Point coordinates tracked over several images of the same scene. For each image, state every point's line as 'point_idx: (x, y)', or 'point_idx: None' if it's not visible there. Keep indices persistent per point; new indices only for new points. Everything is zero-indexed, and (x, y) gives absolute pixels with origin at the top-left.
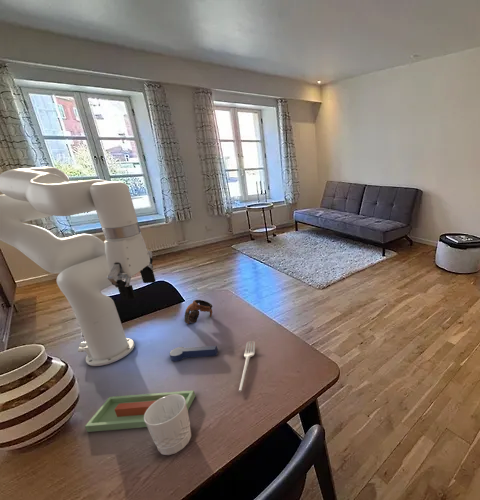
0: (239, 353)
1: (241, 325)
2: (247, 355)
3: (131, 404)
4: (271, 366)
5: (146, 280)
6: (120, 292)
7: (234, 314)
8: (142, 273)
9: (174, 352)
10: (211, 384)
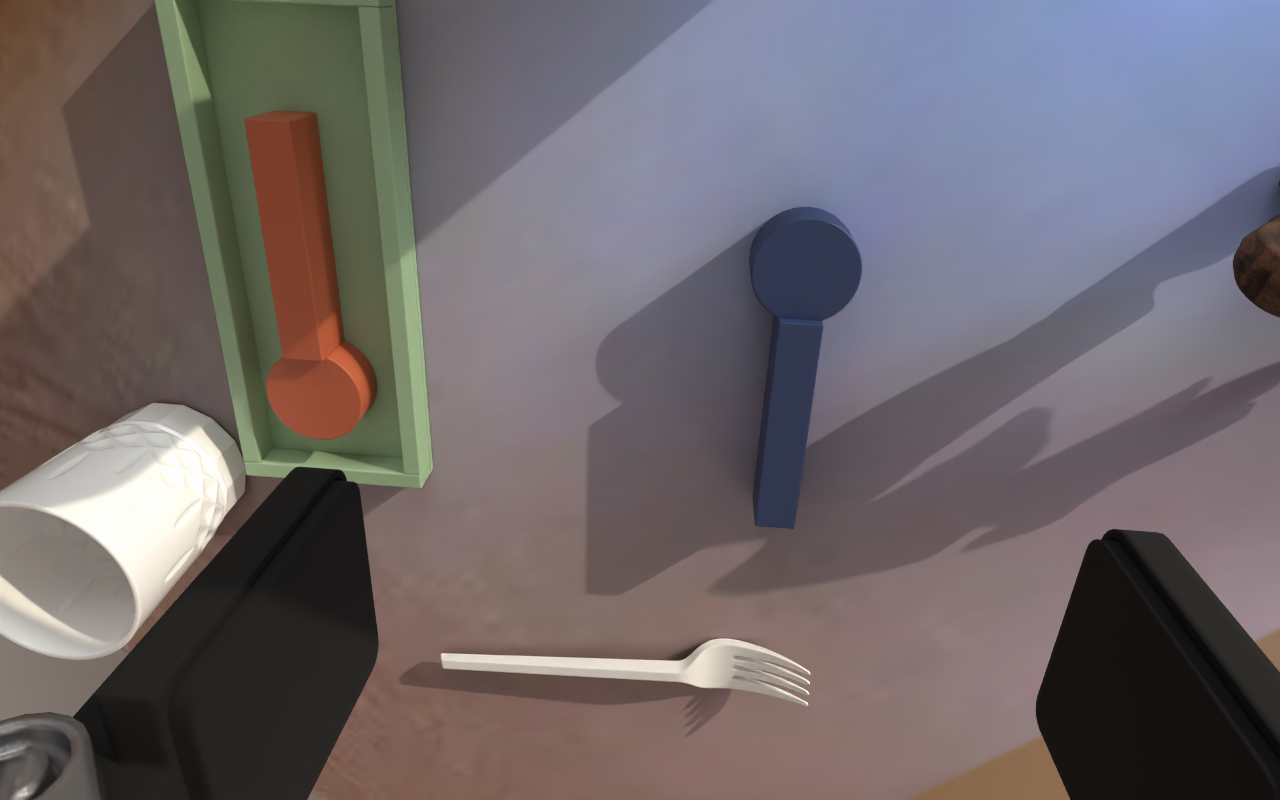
0: (746, 613)
1: (1072, 586)
2: (696, 669)
3: (284, 210)
4: (608, 755)
5: (1099, 638)
6: (216, 582)
7: (1273, 519)
8: (1215, 773)
9: (797, 255)
10: (508, 523)
